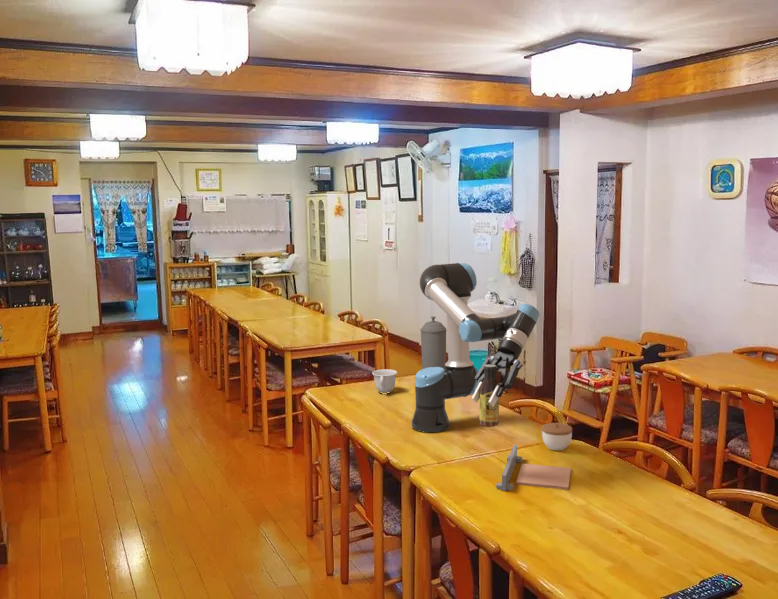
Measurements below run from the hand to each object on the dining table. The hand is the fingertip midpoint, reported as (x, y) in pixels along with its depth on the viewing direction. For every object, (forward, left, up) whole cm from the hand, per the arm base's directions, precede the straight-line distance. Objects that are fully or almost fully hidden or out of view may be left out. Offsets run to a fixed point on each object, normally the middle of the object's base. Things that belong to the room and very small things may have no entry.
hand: (482, 402), depth 220 cm
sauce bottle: (+2, +3, -9) cm, 9 cm away
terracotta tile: (+19, +3, -25) cm, 32 cm away
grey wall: (+8, +3, -25) cm, 26 cm away
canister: (-41, +101, -25) cm, 112 cm away
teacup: (-62, +85, -25) cm, 108 cm away
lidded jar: (+21, +31, -25) cm, 45 cm away
